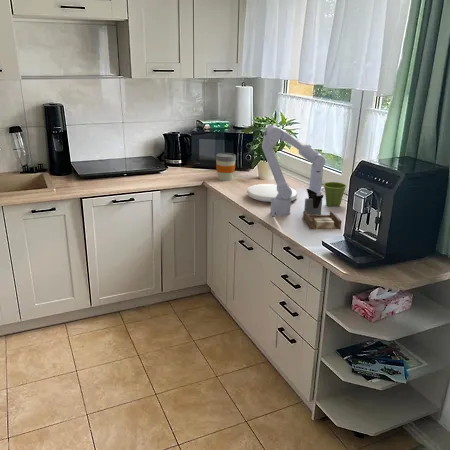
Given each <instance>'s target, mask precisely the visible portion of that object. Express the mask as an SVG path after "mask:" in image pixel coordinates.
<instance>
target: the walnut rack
mask: <svg viewBox="0 0 450 450" xmlns="http://www.w3.org/2000/svg"><path fill="white" fill-rule="evenodd" d="M315 218H331V219H332V221H334V228H318V229H316V227H315V226H314V225H313V223H314V219H315ZM302 220H303V221H304V223H305V224H306V225H307V226H308V228H309V229H310V230H341V229H342V219H341V218H340V217H339V216H338V215H337V214H336V213H335V212H334V211H333V210H330V211H329V214H308V213H307V212H306V211H304V210H303V213H302Z"/></svg>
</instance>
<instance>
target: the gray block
mask: <svg viewBox="0 0 450 450" xmlns="http://www.w3.org/2000/svg"><path fill="white" fill-rule="evenodd" d="M322 206H323V198H322V199H321V201H320V204H319V207H318V208H313V198H309V197H308V198H305V199H304V209H303V211H306V212H307V213H308V215H322Z"/></svg>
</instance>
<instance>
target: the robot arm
mask: <svg viewBox="0 0 450 450" xmlns="http://www.w3.org/2000/svg"><path fill="white" fill-rule="evenodd" d="M279 141H280V142H287V143H288V144H290V145H291V146H292V147H293V148H295V149H296V150H298V154H299V155H300V156H301V157H303V159H305V160H307V161H308V162H310V163H311V168H310V177H309V183H308V185H309V186H308V188H306V193H307V195H308V198H313V208H318V207H319V204H320V201H321V199H322V200H323V198H324V194H322V190H325V187H324V186H322V185H323V184H322V183H323V174H324V166H326V165H325V164H326V159H325V157H324V156H323V155H322V154H321V153H320V152H319V151H318V150H315V148H313V147H312V145H311V144H307V143H304V144H303V143H301V142H300V141H298V139H296V138H295V137H294V136H293V135H291V133H288V132H287V131H286V130H284V129H282V128H281V127H278V126H277V125H276V124H270V125H268V126H267V128H266V130H264V132H263V140H262V143H261V149H262V151H263V154H264V157H265V158H266V159H265V160H266V161H267V163H268V167H269V168H270V171H271V174H272V176H273V178H274V182H275V185H277V191H278V194H277V196H276V197H275V198H272V199H271V202H270V211H269V212H270V215H271V216H272V218H276V217H275V216H289V215H290V214H291V206H292V205H291V203H292V201H291V195H292V190H291V189H290V188H291V187H290V185H289V183H288V182H286V179H285V177H284V174H283V171H282V168H281V167H280V164H279V161H278V158H277V157H276V153H275V152H274V147H275V145H276V144H277V143H278V142H279Z"/></svg>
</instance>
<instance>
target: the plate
mask: <svg viewBox="0 0 450 450" xmlns="http://www.w3.org/2000/svg"><path fill="white" fill-rule="evenodd" d="M290 189H291V190H292V195H291V202H293V201H295V200H297V198H298V192H297V190H296V189H294V188H292V187H290ZM246 193H247V195H248V197H250V198H251V199H253V200H257V201H261V202H268V203H271V199H272V198H275V197H276V196H277V194H278V191H277V184H276V183H275V184H273V183H261V184H259V183H258V184H254V185H251V186H248V187H247V190H246Z"/></svg>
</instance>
